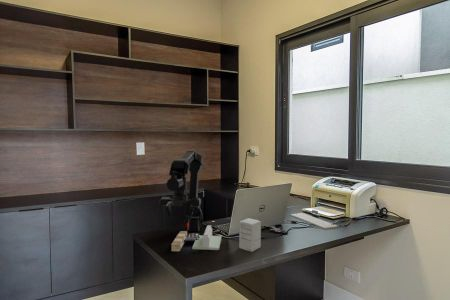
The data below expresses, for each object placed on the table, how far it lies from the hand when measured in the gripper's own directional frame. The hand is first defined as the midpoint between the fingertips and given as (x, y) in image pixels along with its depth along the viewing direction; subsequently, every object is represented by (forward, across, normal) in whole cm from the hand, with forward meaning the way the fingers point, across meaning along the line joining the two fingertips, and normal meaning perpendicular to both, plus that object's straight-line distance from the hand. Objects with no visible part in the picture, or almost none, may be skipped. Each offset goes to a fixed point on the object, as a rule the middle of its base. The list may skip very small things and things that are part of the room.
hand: (180, 219), depth 148 cm
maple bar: (+12, 0, 0) cm, 12 cm away
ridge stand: (+12, +13, +2) cm, 18 cm away
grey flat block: (+13, +73, +45) cm, 87 cm away
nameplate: (+13, +45, +30) cm, 55 cm away
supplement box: (+12, +33, -2) cm, 35 cm away
